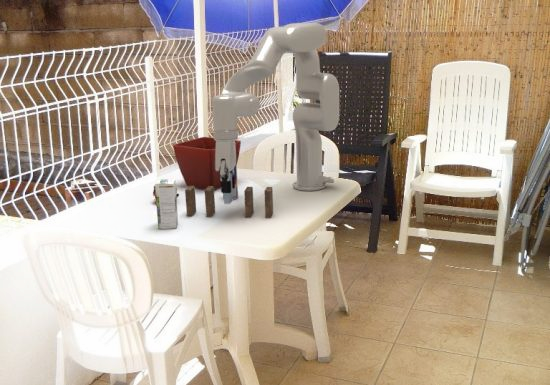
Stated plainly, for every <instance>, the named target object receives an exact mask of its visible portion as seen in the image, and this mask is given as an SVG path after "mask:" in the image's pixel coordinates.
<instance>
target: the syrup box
mask: <svg viewBox="0 0 550 385" xmlns="http://www.w3.org/2000/svg"><path fill="white" fill-rule="evenodd" d="M154 186H155V189H156V199H155V201H156V215H157V218H156V219H157V228H158V230H167V229H170V230H171V229H177V227H178V224H179V218H178V215H179V214H178V197H176V194H177V193H176V189H177V185H176V179H174V178H172V179H171V178H162V179H157V180H156V183H155V184H154Z"/></svg>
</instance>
